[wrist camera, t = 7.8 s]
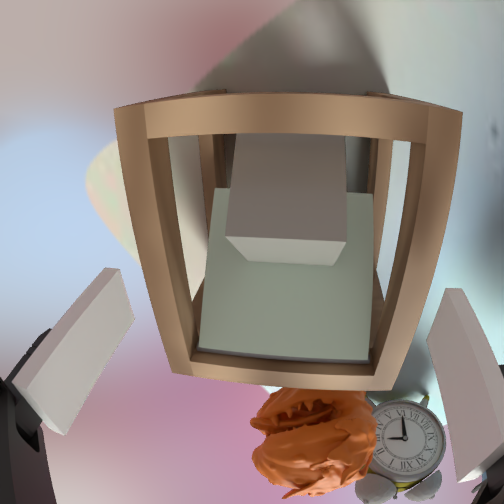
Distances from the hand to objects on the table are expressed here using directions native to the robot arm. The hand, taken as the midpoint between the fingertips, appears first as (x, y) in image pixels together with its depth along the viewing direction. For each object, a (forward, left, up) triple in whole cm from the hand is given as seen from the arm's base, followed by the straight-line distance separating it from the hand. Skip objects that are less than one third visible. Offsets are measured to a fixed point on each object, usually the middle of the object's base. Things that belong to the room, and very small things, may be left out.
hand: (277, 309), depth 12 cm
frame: (0, +1, -15) cm, 15 cm away
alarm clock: (-14, +29, -15) cm, 35 cm away
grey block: (0, 0, -8) cm, 8 cm away
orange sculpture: (-3, +16, -15) cm, 22 cm away
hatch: (0, +3, -7) cm, 8 cm away
